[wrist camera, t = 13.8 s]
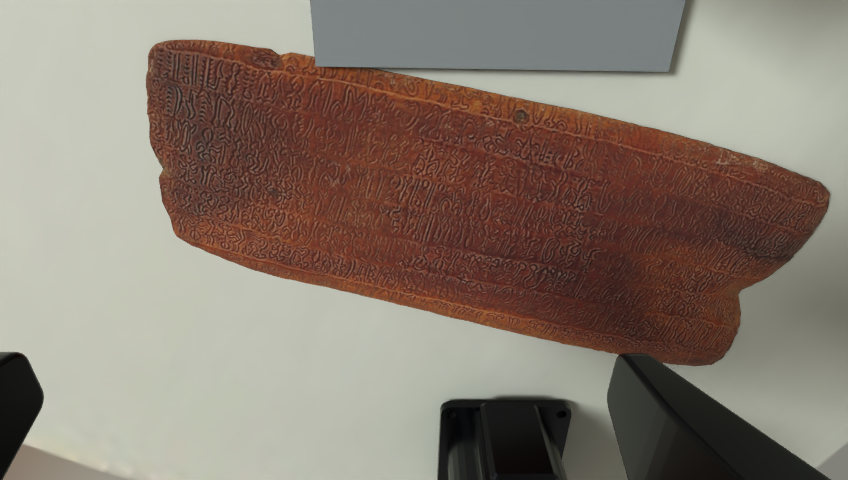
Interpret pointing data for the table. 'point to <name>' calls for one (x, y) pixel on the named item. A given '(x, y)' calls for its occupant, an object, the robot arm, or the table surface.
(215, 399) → the table surface
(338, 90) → the wooden tablet
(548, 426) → the robot arm
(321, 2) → the slate mat
